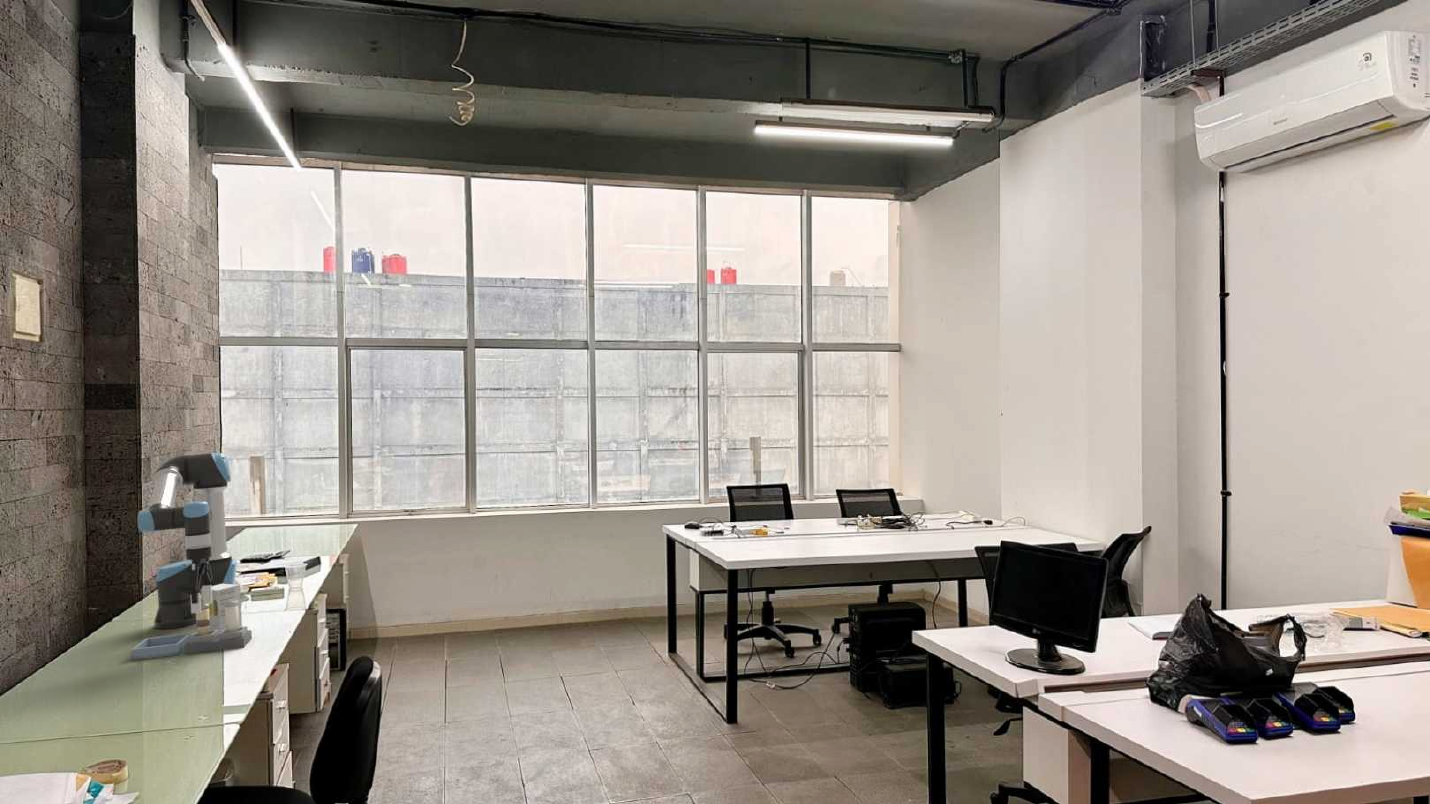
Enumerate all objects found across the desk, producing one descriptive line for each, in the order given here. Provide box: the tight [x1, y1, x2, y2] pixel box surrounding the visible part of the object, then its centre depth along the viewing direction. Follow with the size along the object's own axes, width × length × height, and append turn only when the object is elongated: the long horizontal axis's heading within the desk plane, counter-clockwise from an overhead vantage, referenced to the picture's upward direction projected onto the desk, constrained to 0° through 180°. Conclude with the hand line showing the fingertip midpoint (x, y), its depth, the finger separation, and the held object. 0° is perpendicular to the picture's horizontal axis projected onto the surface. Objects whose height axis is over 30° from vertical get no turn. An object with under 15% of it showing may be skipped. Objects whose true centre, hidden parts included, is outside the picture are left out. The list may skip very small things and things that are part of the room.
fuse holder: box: [184, 600, 253, 655], centre depth 302 cm, size 11×18×15 cm, turn 106°
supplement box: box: [200, 584, 243, 633], centre depth 321 cm, size 10×9×17 cm
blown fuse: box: [195, 603, 211, 636], centre depth 301 cm, size 4×4×12 cm
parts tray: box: [130, 633, 192, 661], centre depth 299 cm, size 14×14×4 cm
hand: (202, 608), depth 300 cm, fingers open, 13 cm apart
